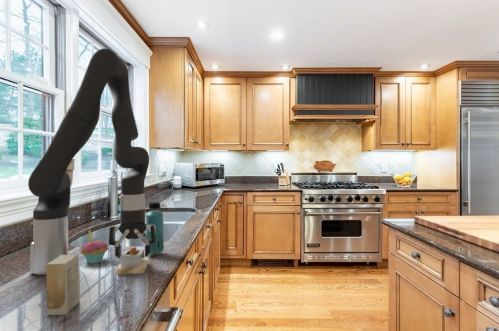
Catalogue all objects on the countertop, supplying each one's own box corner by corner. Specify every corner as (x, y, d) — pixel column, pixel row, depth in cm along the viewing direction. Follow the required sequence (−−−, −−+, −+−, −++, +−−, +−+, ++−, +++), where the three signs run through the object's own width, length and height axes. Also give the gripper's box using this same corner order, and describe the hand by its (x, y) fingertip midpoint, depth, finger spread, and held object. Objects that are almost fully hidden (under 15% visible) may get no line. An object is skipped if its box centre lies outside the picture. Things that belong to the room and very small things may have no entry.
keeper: (116, 274, 88) (116, 252, 88) (123, 265, 96) (123, 244, 96) (143, 273, 89) (143, 251, 89) (147, 263, 97) (147, 243, 97)
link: (120, 267, 89) (120, 256, 89) (125, 260, 95) (125, 250, 95) (140, 265, 90) (140, 255, 90) (144, 259, 96) (144, 249, 96)
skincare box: (61, 302, 71) (61, 254, 71) (79, 301, 71) (79, 253, 71) (45, 316, 65) (45, 263, 64) (65, 315, 65) (65, 263, 65)
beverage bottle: (158, 258, 102) (158, 203, 102) (141, 257, 104) (141, 203, 103) (167, 252, 109) (167, 201, 108) (151, 251, 110) (151, 200, 110)
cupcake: (93, 267, 94) (92, 231, 94) (74, 263, 97) (74, 229, 97) (113, 258, 102) (113, 225, 102) (96, 255, 105) (95, 223, 105)
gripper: (105, 210, 87) (106, 262, 87) (153, 209, 90) (154, 259, 90) (113, 206, 95) (113, 254, 95) (157, 205, 97) (157, 251, 97)
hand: (133, 256), depth 92 cm, fingers open, 8 cm apart
